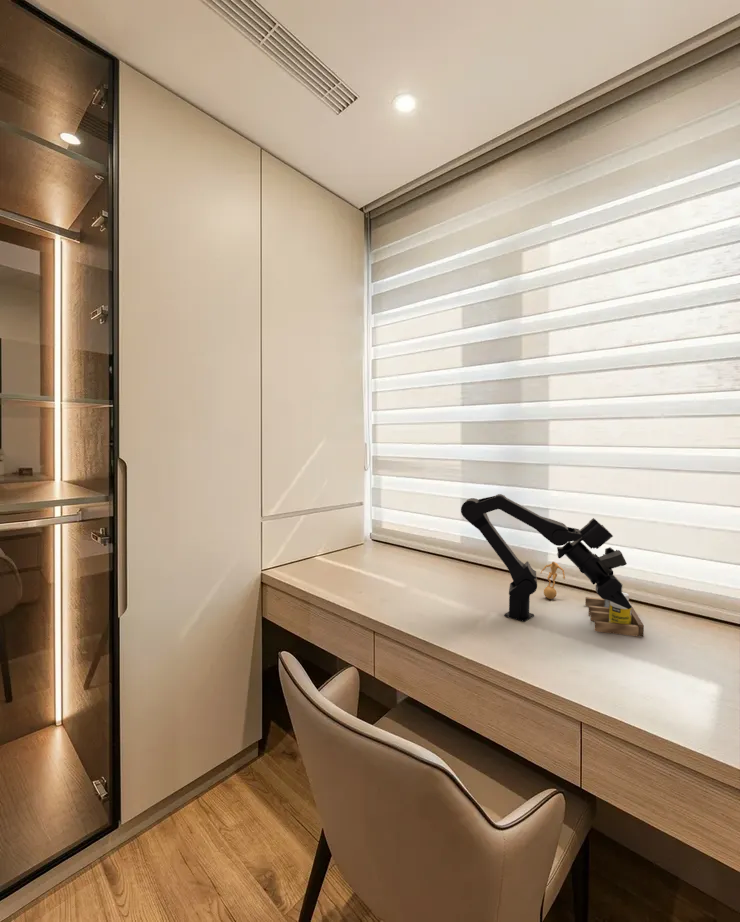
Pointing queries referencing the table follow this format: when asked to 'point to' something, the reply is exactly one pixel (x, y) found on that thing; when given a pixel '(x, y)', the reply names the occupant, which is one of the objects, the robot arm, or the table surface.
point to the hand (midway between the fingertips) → (626, 602)
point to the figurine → (550, 591)
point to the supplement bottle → (620, 612)
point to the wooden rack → (603, 624)
